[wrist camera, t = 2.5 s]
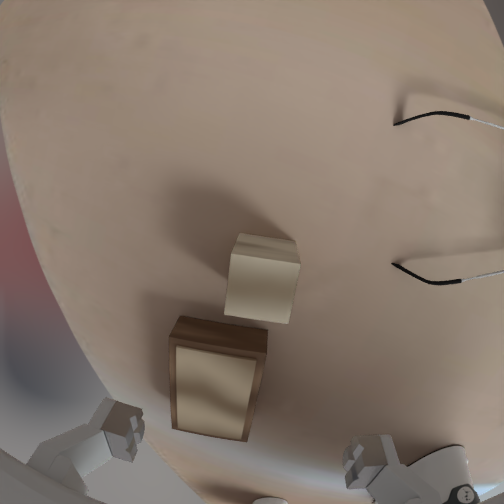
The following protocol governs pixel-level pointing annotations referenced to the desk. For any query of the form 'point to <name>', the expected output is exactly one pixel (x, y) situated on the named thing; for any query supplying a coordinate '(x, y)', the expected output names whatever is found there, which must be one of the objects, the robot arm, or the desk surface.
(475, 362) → the desk surface
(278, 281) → the block
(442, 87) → the desk surface
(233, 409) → the plinth
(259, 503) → the white cup
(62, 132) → the desk surface
